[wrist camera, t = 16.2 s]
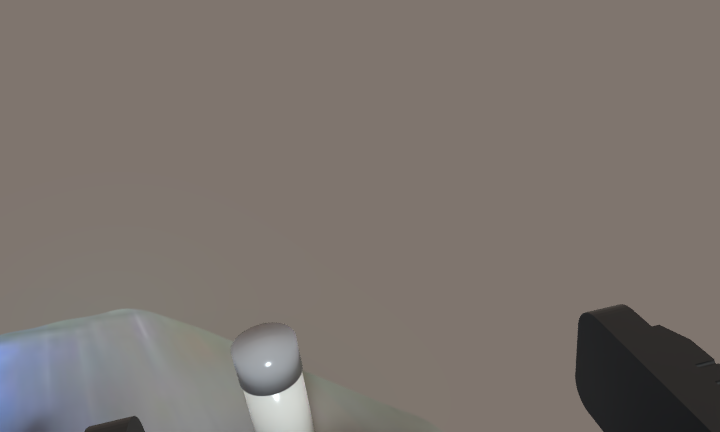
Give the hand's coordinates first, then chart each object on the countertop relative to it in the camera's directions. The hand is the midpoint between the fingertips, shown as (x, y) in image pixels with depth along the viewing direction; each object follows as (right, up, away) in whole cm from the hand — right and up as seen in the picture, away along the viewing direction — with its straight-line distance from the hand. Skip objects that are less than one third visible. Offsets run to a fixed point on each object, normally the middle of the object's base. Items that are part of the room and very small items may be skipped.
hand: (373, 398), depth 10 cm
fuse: (-5, -17, +32) cm, 36 cm away
